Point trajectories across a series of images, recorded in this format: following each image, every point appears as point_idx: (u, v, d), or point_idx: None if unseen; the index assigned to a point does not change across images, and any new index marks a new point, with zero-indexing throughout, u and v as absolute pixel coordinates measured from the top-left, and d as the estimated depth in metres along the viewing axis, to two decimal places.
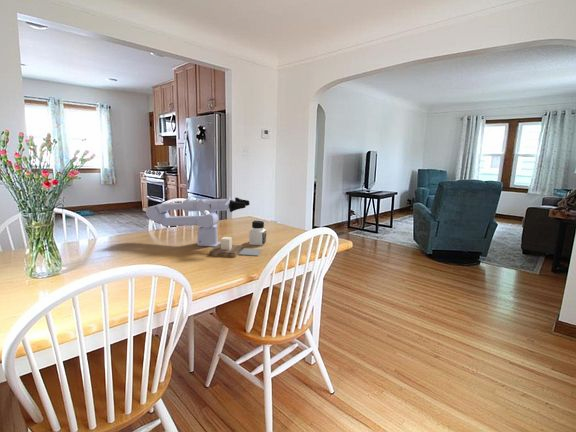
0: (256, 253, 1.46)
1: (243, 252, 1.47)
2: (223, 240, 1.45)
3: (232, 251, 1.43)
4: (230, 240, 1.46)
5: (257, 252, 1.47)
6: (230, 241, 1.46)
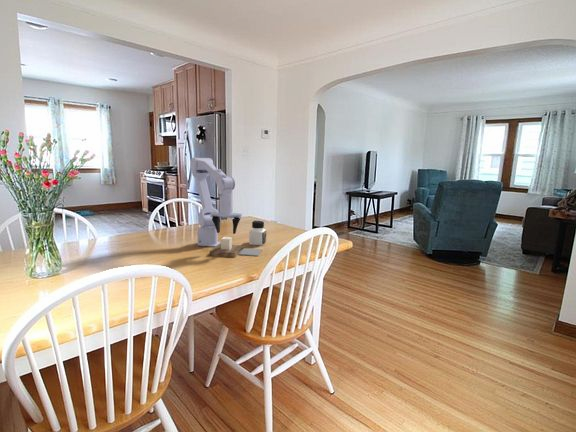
0: (256, 253, 1.46)
1: (243, 252, 1.47)
2: (223, 240, 1.45)
3: (232, 251, 1.43)
4: (230, 240, 1.46)
5: (257, 252, 1.47)
6: (230, 241, 1.46)
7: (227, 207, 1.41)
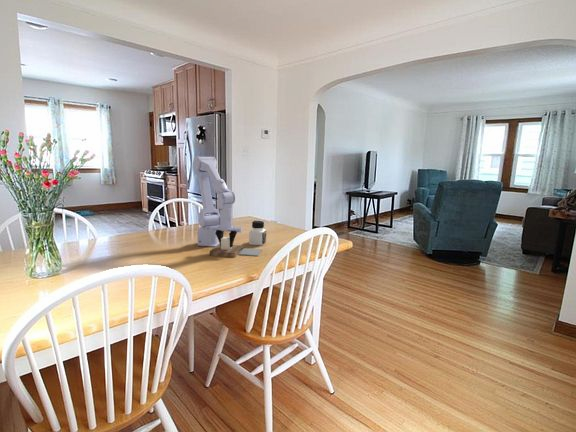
0: (256, 253, 1.46)
1: (243, 252, 1.47)
2: (223, 240, 1.45)
3: (232, 251, 1.43)
4: None
5: (257, 252, 1.47)
6: None
7: (227, 221, 1.42)
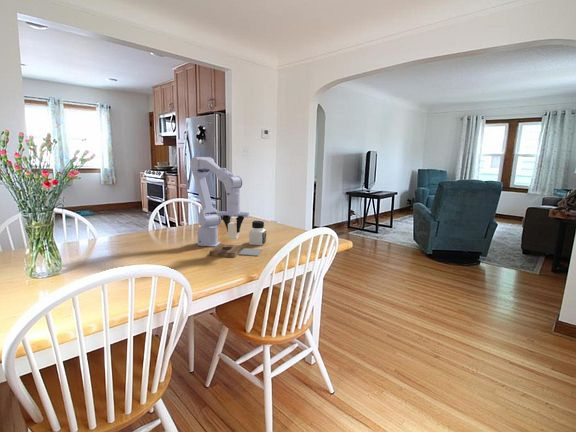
0: (256, 253, 1.46)
1: (243, 252, 1.47)
2: (230, 225, 1.44)
3: (232, 251, 1.43)
4: None
5: (257, 252, 1.47)
6: None
7: (234, 206, 1.41)
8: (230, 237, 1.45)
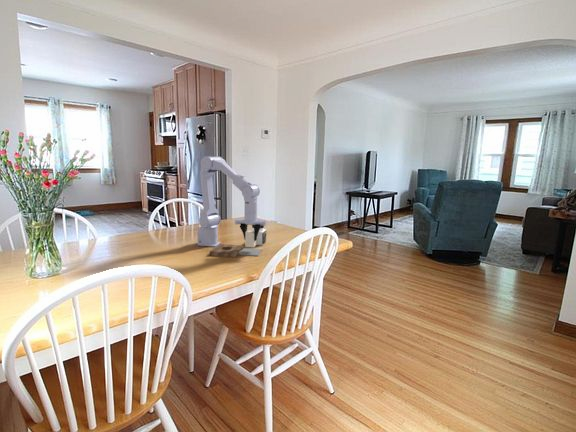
0: (256, 253, 1.46)
1: (243, 252, 1.47)
2: (247, 233, 1.45)
3: (232, 251, 1.43)
4: None
5: (257, 252, 1.47)
6: None
7: (252, 214, 1.43)
8: (247, 245, 1.46)
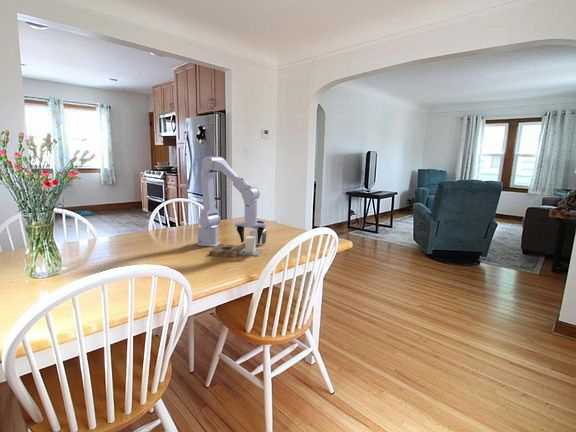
0: (256, 253, 1.46)
1: (243, 252, 1.47)
2: (247, 239, 1.45)
3: (232, 251, 1.43)
4: (254, 239, 1.47)
5: (257, 252, 1.47)
6: (254, 240, 1.47)
7: (252, 217, 1.43)
8: (247, 251, 1.47)
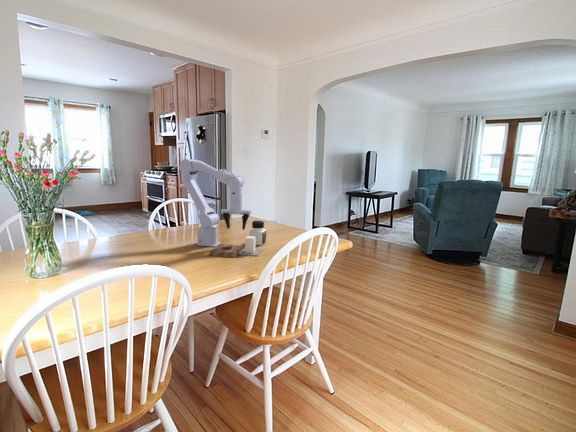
0: (256, 253, 1.46)
1: (243, 252, 1.47)
2: (247, 239, 1.45)
3: (232, 251, 1.43)
4: (254, 239, 1.47)
5: (257, 252, 1.47)
6: (254, 240, 1.47)
7: (237, 204, 1.50)
8: (247, 251, 1.47)
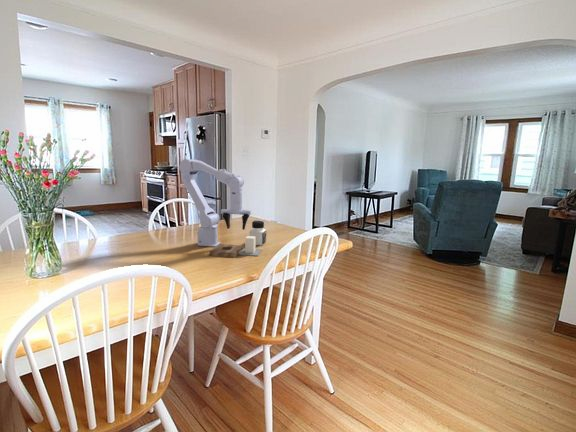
0: (256, 253, 1.46)
1: (243, 252, 1.47)
2: (247, 239, 1.45)
3: (232, 251, 1.43)
4: (254, 239, 1.47)
5: (257, 252, 1.47)
6: (254, 240, 1.47)
7: (237, 204, 1.50)
8: (247, 251, 1.47)
